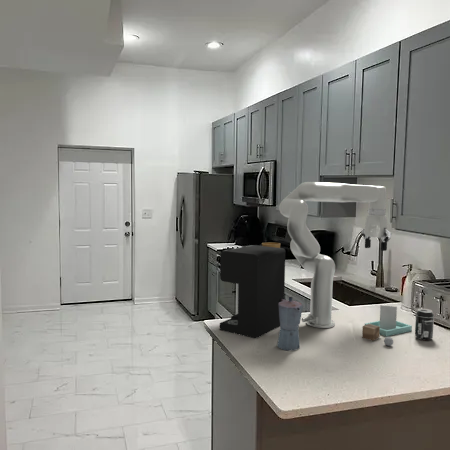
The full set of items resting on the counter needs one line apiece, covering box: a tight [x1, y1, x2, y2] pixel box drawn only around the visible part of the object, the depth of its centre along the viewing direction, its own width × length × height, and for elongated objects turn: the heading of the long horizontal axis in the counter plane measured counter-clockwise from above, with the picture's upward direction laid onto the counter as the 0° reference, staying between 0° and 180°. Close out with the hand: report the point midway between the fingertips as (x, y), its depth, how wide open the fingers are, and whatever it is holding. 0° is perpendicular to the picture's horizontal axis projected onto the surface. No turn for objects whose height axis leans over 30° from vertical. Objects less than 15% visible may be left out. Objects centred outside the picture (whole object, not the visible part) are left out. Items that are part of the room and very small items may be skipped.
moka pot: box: [277, 296, 304, 352], centre depth 178 cm, size 10×15×20 cm, turn 27°
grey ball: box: [383, 336, 394, 347], centre depth 181 cm, size 4×4×4 cm
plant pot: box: [261, 242, 281, 248], centre depth 369 cm, size 15×15×16 cm
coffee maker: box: [219, 244, 287, 340], centre depth 203 cm, size 28×20×35 cm
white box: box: [379, 304, 398, 330], centre depth 201 cm, size 4×7×10 cm, turn 71°
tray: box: [364, 320, 413, 338], centre depth 201 cm, size 16×12×2 cm
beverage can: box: [414, 308, 435, 341], centre depth 190 cm, size 7×7×12 cm
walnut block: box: [361, 324, 380, 342], centre depth 190 cm, size 5×5×5 cm
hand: (375, 249), depth 215 cm, fingers open, 9 cm apart
